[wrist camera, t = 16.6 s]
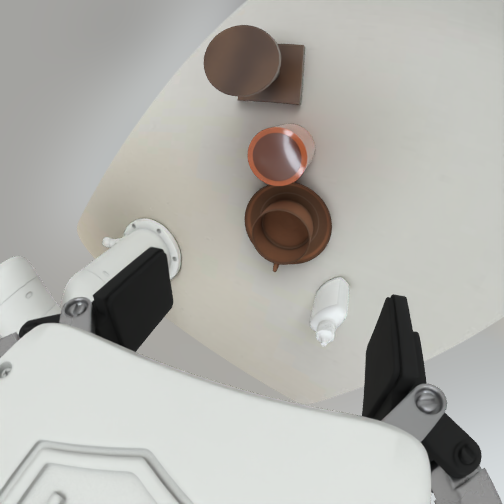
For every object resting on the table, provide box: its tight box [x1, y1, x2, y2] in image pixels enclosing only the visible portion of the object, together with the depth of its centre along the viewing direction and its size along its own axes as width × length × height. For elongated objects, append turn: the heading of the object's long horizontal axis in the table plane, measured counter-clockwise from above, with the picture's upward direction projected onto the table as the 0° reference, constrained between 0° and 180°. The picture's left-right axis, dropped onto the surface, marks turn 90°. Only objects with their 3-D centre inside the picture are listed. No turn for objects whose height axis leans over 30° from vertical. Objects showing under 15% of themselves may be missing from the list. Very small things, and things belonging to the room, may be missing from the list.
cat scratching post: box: [204, 25, 305, 105], centre depth 27 cm, size 8×8×12 cm
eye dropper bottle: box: [310, 277, 349, 346], centre depth 39 cm, size 4×6×12 cm
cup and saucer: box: [245, 182, 332, 272], centre depth 38 cm, size 12×12×6 cm
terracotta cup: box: [248, 123, 315, 186], centre depth 33 cm, size 6×6×8 cm
